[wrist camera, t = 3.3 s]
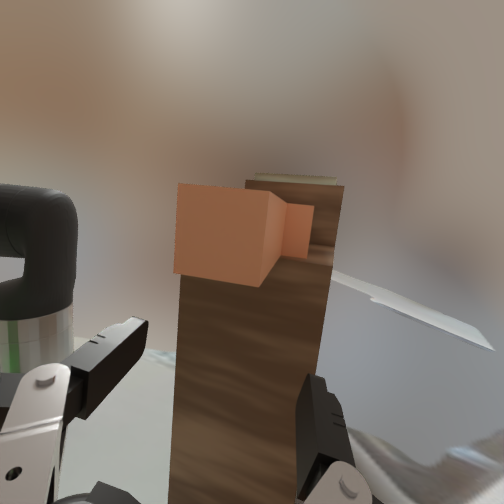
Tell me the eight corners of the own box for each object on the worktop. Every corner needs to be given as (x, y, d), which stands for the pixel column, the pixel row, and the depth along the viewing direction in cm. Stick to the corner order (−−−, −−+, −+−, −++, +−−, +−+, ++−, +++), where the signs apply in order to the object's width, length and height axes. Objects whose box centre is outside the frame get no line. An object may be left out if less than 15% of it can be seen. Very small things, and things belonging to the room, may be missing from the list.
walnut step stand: (279, 596, 22) (352, 142, 15) (166, 528, 25) (188, 140, 19) (309, 400, 45) (343, 189, 39) (248, 380, 49) (270, 184, 42)
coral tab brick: (306, 295, 10) (321, 195, 9) (135, 266, 12) (137, 179, 11) (306, 244, 28) (311, 209, 28) (240, 235, 30) (243, 202, 29)
